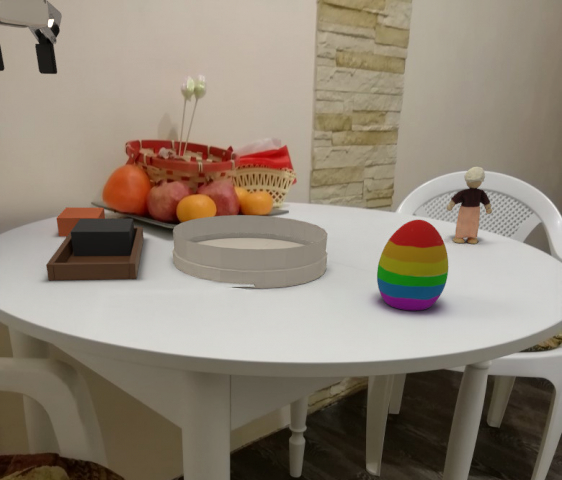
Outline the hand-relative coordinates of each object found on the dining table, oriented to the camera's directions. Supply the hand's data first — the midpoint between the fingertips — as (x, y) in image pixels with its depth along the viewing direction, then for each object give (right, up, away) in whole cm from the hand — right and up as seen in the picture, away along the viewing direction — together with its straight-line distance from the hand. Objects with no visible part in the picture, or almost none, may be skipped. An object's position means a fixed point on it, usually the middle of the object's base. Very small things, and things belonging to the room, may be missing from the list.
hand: (23, 72), depth 81 cm
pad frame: (+13, -29, -2) cm, 31 cm away
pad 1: (+5, -21, +12) cm, 24 cm away
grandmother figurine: (+71, -21, +17) cm, 76 cm away
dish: (+34, -29, -1) cm, 45 cm away
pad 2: (+12, -26, +2) cm, 28 cm away
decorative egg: (+54, -36, -14) cm, 66 cm away
